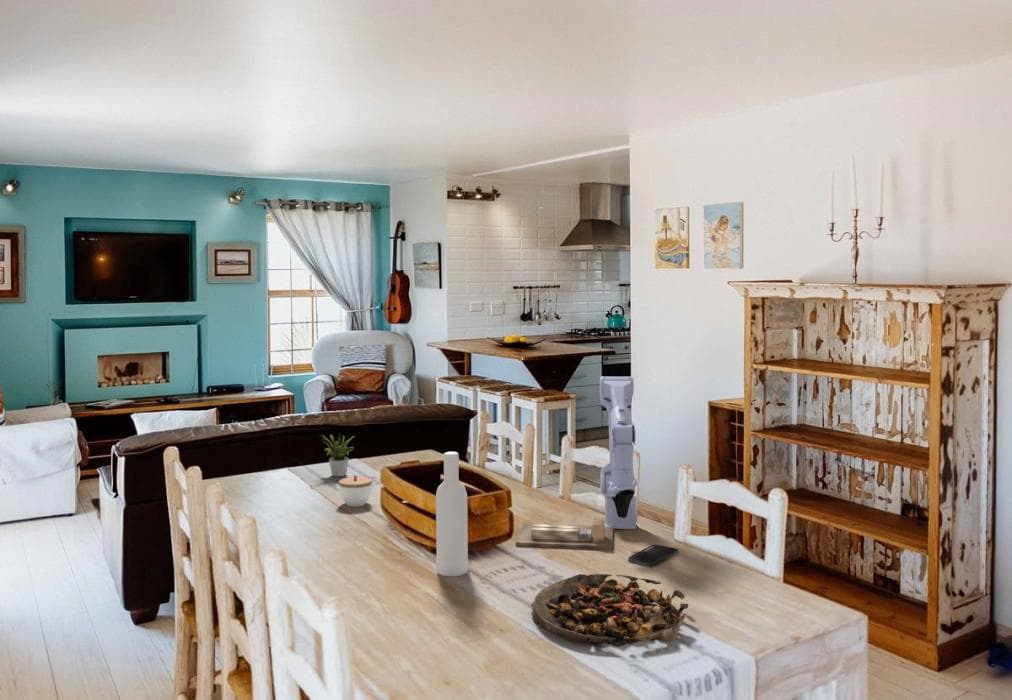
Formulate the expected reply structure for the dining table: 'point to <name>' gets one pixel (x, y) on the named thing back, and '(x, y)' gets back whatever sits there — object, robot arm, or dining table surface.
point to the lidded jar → (355, 490)
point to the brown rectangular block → (598, 529)
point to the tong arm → (555, 526)
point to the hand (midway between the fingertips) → (622, 516)
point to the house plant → (338, 456)
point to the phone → (653, 555)
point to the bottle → (451, 521)
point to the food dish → (607, 611)
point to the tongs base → (565, 543)
